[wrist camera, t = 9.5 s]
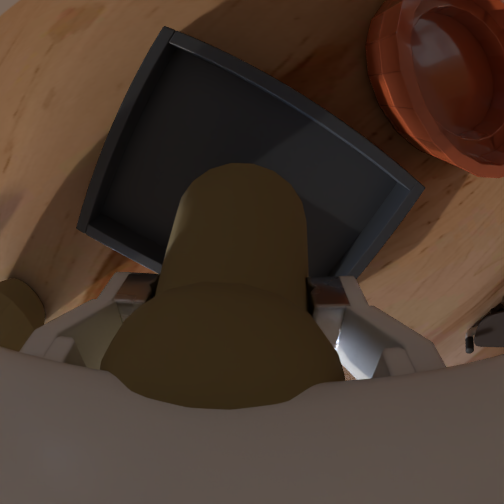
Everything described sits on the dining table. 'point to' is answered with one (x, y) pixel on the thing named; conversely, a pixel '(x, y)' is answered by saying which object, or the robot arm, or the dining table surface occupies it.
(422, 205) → the dining table surface
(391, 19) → the bowl
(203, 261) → the olive green bottle
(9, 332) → the squeeze bottle
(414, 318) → the dining table surface
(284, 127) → the tray
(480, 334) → the laptop tray
